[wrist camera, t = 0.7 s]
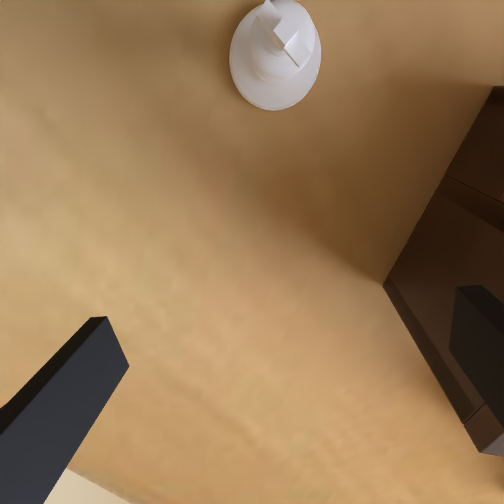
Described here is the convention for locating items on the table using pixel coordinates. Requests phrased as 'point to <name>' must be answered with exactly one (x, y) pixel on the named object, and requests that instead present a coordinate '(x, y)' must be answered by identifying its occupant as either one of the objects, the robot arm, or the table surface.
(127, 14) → the table surface
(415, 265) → the step shelf
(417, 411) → the table surface
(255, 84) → the chess piece
